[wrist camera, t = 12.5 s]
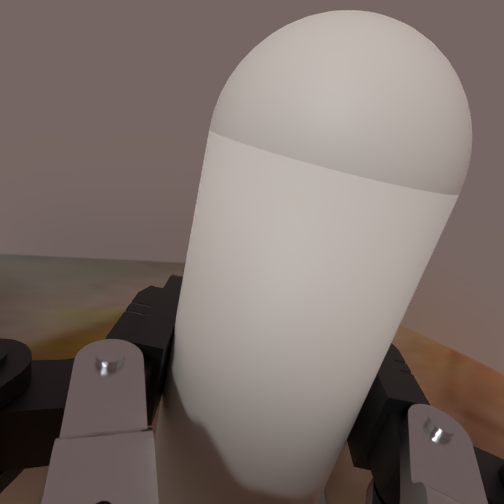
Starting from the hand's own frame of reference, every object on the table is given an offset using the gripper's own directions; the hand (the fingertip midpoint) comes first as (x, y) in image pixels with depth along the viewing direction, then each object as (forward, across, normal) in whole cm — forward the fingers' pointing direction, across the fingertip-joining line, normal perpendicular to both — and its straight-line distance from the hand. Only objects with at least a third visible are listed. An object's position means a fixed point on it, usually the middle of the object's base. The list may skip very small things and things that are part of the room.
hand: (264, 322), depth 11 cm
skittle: (-2, 0, +8) cm, 9 cm away
